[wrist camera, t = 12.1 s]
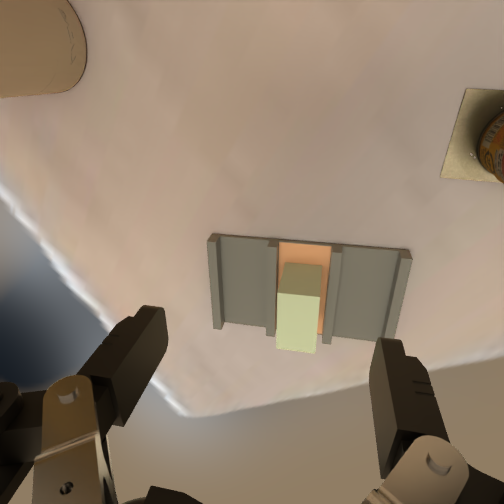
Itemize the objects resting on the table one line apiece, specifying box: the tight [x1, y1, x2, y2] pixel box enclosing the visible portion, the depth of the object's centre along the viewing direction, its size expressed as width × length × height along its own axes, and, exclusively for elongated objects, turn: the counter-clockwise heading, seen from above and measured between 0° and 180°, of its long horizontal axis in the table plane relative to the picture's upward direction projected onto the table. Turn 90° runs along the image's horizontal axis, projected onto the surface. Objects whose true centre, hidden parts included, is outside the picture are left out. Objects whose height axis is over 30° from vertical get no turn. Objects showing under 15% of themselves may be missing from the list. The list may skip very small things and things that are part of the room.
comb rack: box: [207, 234, 413, 344], centre depth 39 cm, size 21×12×2 cm, turn 91°
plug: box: [276, 262, 322, 354], centre depth 37 cm, size 4×7×6 cm, turn 1°
